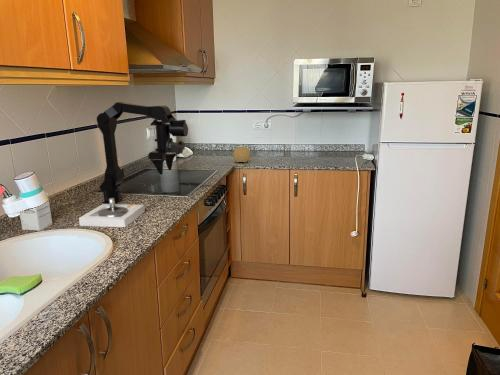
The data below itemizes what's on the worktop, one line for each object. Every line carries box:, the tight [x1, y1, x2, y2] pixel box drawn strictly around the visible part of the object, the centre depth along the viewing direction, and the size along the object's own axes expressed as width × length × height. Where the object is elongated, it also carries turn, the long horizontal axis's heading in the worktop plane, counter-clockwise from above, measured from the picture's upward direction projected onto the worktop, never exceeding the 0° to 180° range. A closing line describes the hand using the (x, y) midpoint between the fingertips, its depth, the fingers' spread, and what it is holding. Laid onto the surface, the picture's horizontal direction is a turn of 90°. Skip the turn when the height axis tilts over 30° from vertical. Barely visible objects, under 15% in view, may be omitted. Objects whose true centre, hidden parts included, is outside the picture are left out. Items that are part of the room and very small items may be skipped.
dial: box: [98, 198, 128, 217], centre depth 148 cm, size 11×11×6 cm
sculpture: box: [233, 146, 251, 163], centre depth 257 cm, size 11×12×11 cm
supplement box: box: [19, 192, 53, 232], centre depth 139 cm, size 7×7×13 cm
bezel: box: [78, 203, 146, 228], centre depth 149 cm, size 18×18×3 cm
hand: (165, 172), depth 164 cm, fingers open, 9 cm apart
